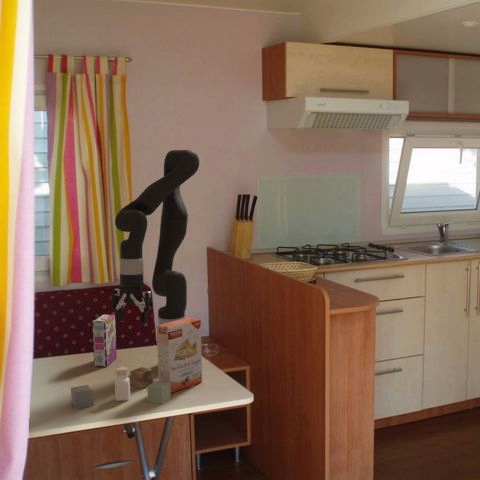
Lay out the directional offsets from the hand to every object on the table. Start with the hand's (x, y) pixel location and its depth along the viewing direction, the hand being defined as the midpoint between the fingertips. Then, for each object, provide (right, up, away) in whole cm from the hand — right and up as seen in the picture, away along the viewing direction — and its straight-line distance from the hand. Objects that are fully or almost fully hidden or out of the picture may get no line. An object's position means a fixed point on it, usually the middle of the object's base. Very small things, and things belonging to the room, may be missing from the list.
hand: (131, 322), depth 215 cm
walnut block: (+4, -20, -2) cm, 20 cm away
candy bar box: (-13, -18, +23) cm, 32 cm away
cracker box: (+16, -20, -4) cm, 26 cm away
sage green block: (+11, -22, -16) cm, 29 cm away
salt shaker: (0, -22, -14) cm, 26 cm away
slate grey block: (-12, -22, -18) cm, 31 cm away
